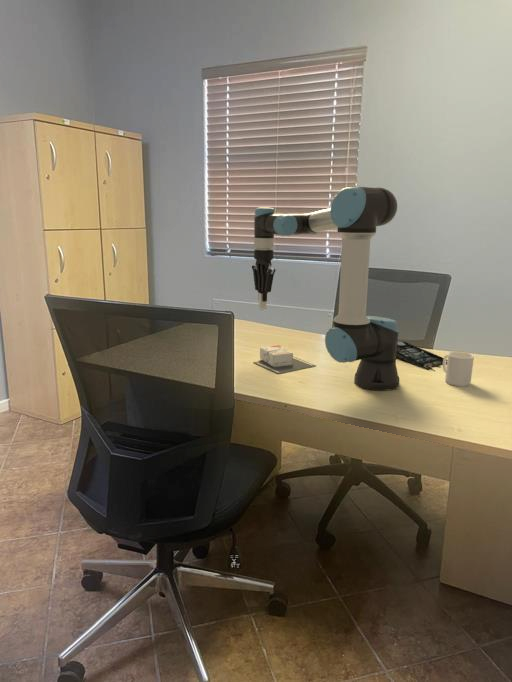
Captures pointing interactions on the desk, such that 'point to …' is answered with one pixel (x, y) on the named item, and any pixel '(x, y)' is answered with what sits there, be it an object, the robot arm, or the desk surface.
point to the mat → (296, 365)
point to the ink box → (276, 356)
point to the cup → (458, 368)
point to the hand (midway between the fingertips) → (262, 309)
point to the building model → (418, 355)
